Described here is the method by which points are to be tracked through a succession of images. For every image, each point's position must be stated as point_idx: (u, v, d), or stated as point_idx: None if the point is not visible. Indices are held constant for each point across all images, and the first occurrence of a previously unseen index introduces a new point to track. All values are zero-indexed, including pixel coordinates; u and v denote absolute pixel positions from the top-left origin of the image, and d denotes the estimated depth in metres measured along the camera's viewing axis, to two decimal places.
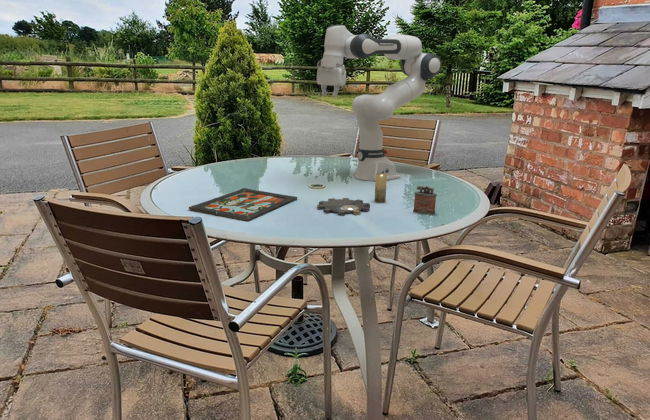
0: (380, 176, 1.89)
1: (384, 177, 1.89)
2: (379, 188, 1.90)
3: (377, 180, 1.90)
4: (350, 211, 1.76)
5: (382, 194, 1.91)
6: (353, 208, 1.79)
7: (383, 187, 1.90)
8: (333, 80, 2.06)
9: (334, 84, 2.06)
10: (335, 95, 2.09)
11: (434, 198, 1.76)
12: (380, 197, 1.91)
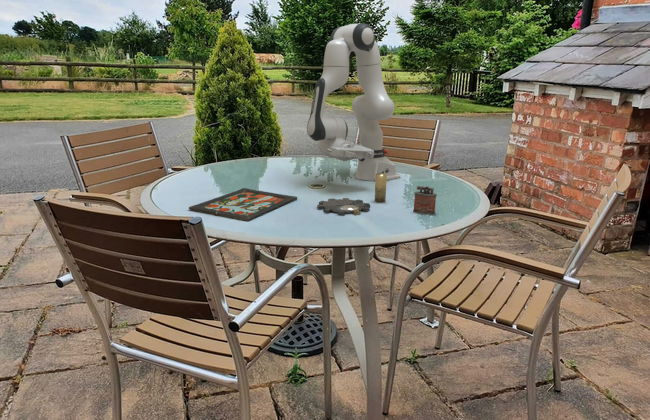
0: (380, 176, 1.89)
1: (384, 177, 1.89)
2: (379, 188, 1.90)
3: (377, 180, 1.90)
4: (350, 211, 1.76)
5: (382, 194, 1.91)
6: (353, 208, 1.79)
7: (383, 187, 1.90)
8: None
9: (342, 157, 2.00)
10: (352, 155, 1.97)
11: (434, 198, 1.76)
12: (380, 197, 1.91)
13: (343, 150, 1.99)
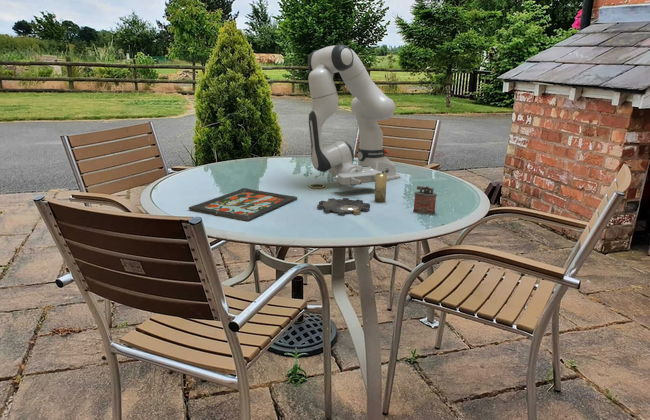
0: (380, 176, 1.89)
1: (384, 177, 1.89)
2: (379, 188, 1.90)
3: (377, 180, 1.90)
4: (350, 211, 1.76)
5: (382, 194, 1.91)
6: (353, 208, 1.79)
7: (383, 187, 1.90)
8: None
9: (349, 184, 2.00)
10: (358, 182, 1.96)
11: (434, 198, 1.76)
12: (380, 197, 1.91)
13: (349, 177, 1.98)
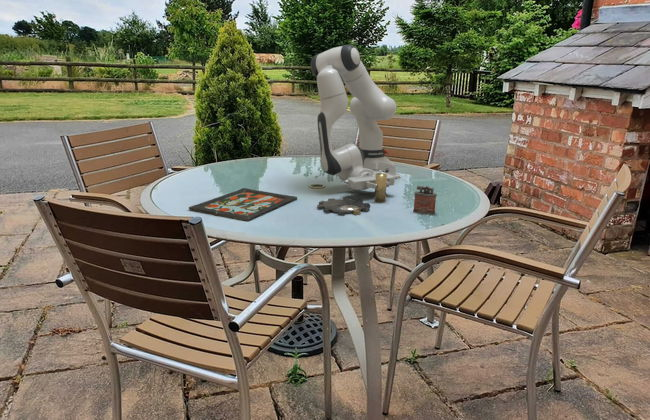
0: (380, 176, 1.89)
1: (384, 177, 1.89)
2: (379, 188, 1.90)
3: (377, 180, 1.90)
4: (350, 211, 1.76)
5: (382, 194, 1.91)
6: (353, 208, 1.79)
7: (383, 187, 1.90)
8: None
9: (360, 188, 1.93)
10: (373, 186, 1.90)
11: (434, 198, 1.76)
12: (380, 197, 1.91)
13: (360, 182, 1.92)
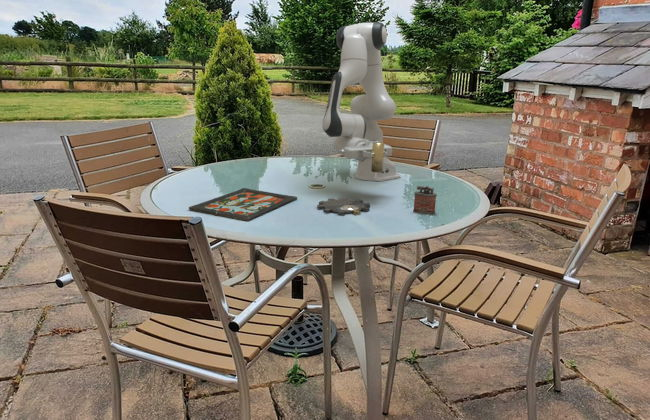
0: (377, 144, 1.83)
1: (381, 145, 1.83)
2: (376, 157, 1.84)
3: (374, 149, 1.84)
4: (350, 211, 1.76)
5: (379, 163, 1.85)
6: (353, 208, 1.79)
7: (380, 156, 1.84)
8: None
9: (357, 158, 1.87)
10: (370, 155, 1.84)
11: (434, 198, 1.76)
12: (377, 166, 1.85)
13: (357, 151, 1.86)
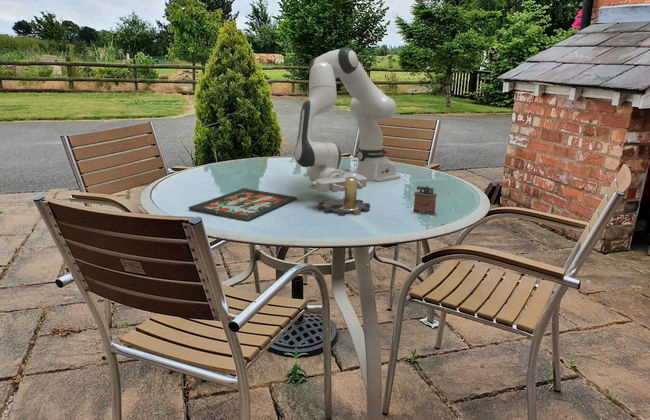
0: (350, 181, 1.74)
1: (354, 182, 1.75)
2: (349, 194, 1.76)
3: (347, 185, 1.76)
4: (350, 211, 1.76)
5: (352, 200, 1.77)
6: None
7: (353, 192, 1.76)
8: None
9: None
10: (339, 188, 1.75)
11: (434, 198, 1.76)
12: (350, 203, 1.77)
13: (328, 184, 1.77)
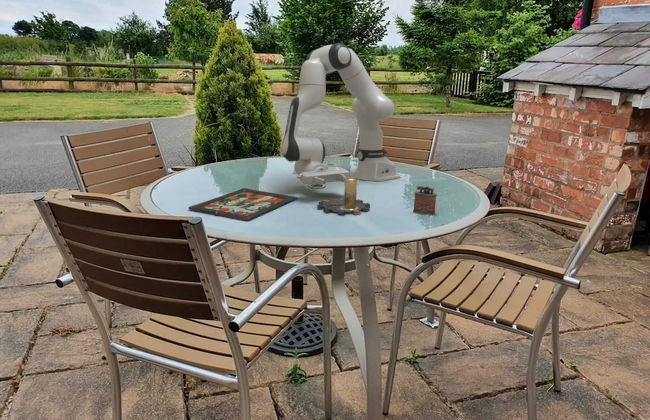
0: (349, 180, 1.75)
1: (354, 182, 1.75)
2: (348, 194, 1.76)
3: (346, 185, 1.76)
4: (350, 211, 1.76)
5: (352, 200, 1.77)
6: None
7: (353, 192, 1.76)
8: None
9: (313, 183, 1.90)
10: (321, 181, 1.86)
11: (434, 198, 1.76)
12: (350, 203, 1.77)
13: (312, 176, 1.88)
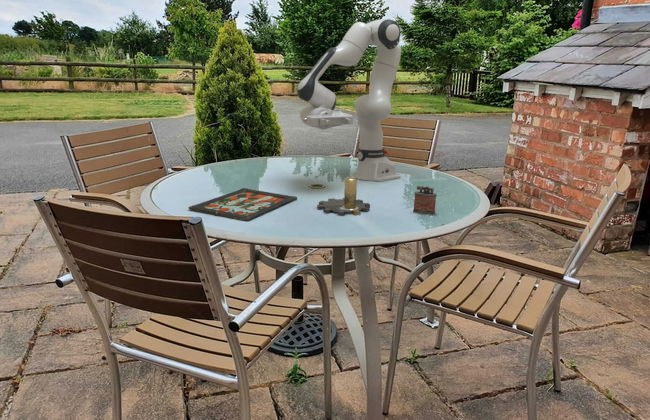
0: (349, 180, 1.75)
1: (354, 182, 1.75)
2: (348, 194, 1.76)
3: (346, 185, 1.76)
4: (350, 211, 1.76)
5: (352, 200, 1.77)
6: None
7: (353, 192, 1.76)
8: None
9: (318, 125, 1.97)
10: (326, 122, 1.93)
11: (434, 198, 1.76)
12: (350, 203, 1.77)
13: (317, 118, 1.95)
